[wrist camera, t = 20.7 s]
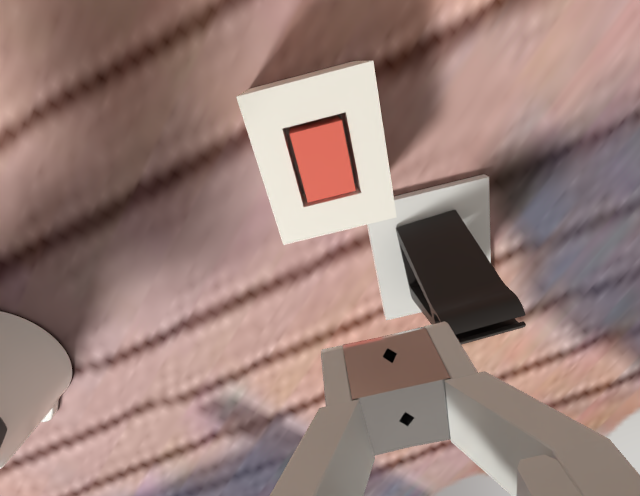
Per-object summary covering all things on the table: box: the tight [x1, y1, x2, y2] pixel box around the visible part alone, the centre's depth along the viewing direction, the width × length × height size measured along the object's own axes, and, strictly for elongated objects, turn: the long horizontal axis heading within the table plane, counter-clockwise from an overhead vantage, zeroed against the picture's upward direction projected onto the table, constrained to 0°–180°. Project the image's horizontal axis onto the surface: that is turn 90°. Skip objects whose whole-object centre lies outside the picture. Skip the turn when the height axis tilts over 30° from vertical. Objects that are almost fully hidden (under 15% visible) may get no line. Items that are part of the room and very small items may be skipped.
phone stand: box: [396, 210, 526, 344], centre depth 33 cm, size 9×6×12 cm, turn 17°
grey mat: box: [367, 174, 491, 320], centre depth 38 cm, size 12×14×1 cm
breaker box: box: [237, 61, 397, 245], centre depth 29 cm, size 9×11×8 cm
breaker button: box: [289, 115, 356, 202], centre depth 27 cm, size 4×5×3 cm
